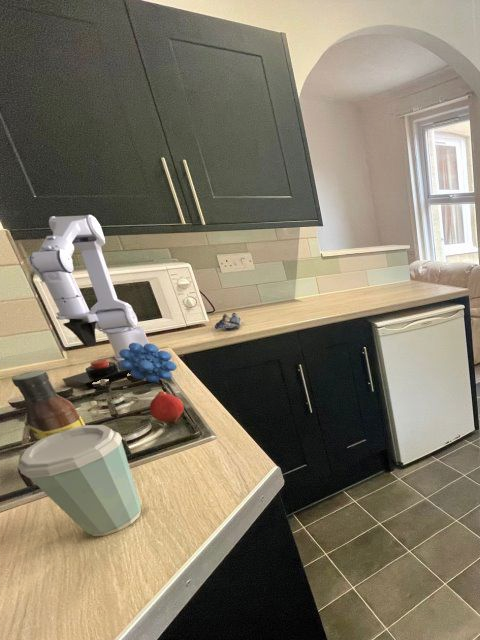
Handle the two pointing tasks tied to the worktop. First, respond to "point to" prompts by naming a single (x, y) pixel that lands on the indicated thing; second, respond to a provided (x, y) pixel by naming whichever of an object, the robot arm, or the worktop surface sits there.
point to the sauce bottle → (45, 405)
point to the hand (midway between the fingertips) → (90, 345)
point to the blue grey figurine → (229, 322)
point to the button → (99, 364)
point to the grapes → (147, 362)
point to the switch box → (97, 376)
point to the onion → (166, 407)
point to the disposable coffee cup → (85, 477)
